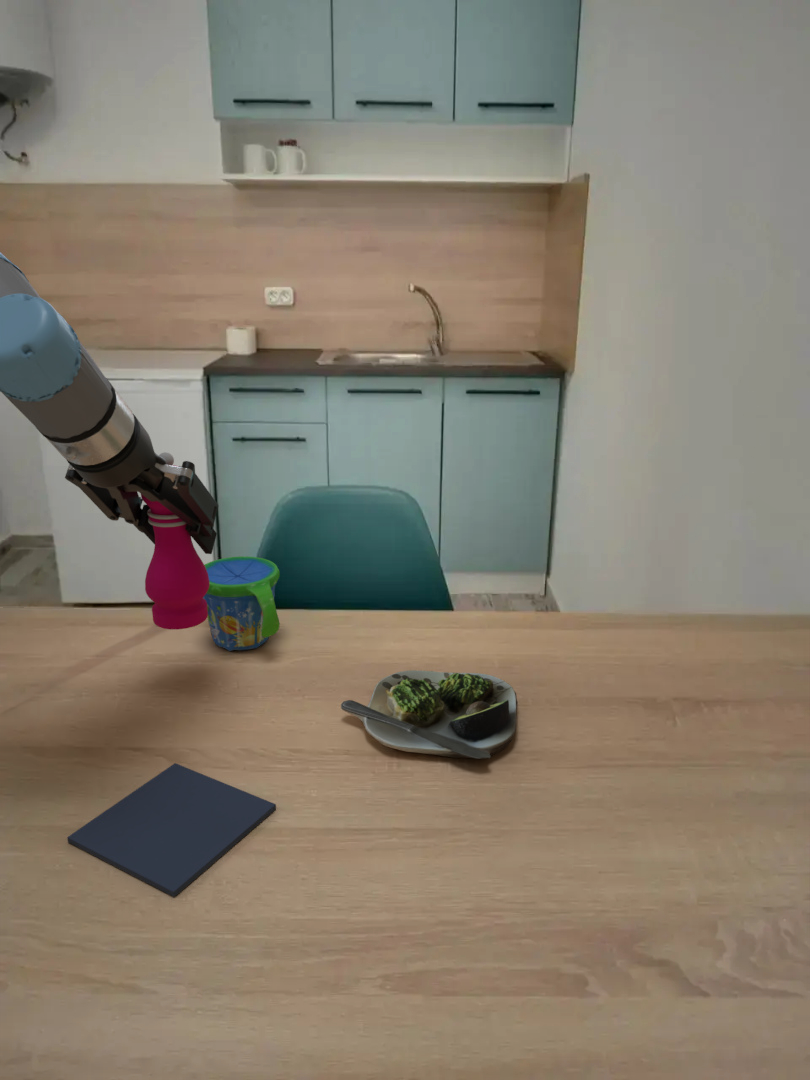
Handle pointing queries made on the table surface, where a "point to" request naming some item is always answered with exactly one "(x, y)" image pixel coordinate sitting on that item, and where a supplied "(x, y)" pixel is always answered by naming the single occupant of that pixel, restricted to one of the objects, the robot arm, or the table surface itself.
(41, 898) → the table surface
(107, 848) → the placemat
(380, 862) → the table surface
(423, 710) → the salad plate
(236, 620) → the snack cup
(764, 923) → the table surface
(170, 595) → the pepper mill
